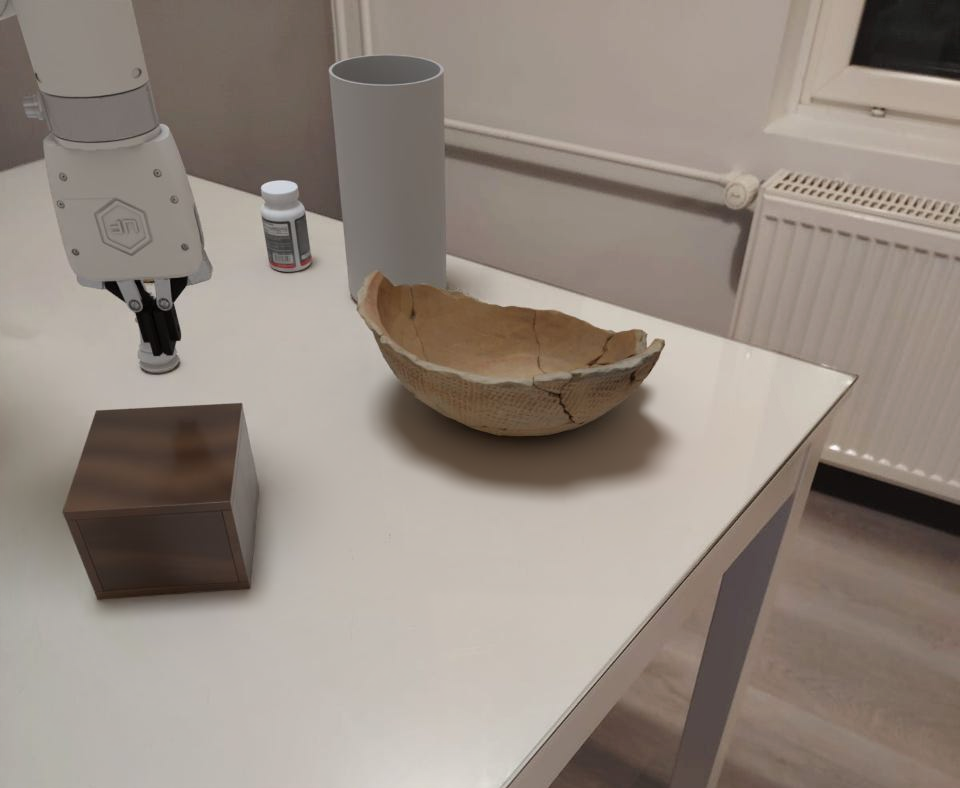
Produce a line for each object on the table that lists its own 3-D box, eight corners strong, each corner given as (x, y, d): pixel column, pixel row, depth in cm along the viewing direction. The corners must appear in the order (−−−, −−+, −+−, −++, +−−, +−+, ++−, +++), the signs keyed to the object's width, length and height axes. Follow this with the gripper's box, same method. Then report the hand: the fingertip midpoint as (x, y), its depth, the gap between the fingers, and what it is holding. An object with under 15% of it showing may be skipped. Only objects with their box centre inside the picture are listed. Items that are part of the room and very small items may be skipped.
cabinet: (123, 494, 85) (95, 410, 78) (258, 486, 86) (242, 402, 80) (96, 599, 75) (61, 512, 68) (250, 588, 76) (230, 501, 69)
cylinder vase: (337, 309, 112) (313, 81, 94) (364, 268, 121) (347, 51, 103) (435, 319, 111) (429, 88, 93) (455, 276, 119) (453, 58, 101)
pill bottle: (299, 252, 124) (289, 175, 117) (319, 266, 121) (310, 188, 114) (261, 262, 122) (249, 184, 115) (281, 276, 119) (269, 198, 111)
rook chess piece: (188, 362, 103) (172, 294, 97) (159, 378, 100) (140, 309, 94) (161, 351, 104) (143, 283, 98) (131, 367, 102) (111, 298, 96)
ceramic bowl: (638, 329, 105) (656, 207, 93) (657, 500, 90) (681, 381, 78) (384, 330, 106) (368, 209, 94) (361, 499, 91) (338, 381, 79)
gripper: (-19, 132, 62) (68, 375, 75) (202, 124, 63) (250, 365, 76) (8, 101, 67) (85, 333, 80) (212, 94, 68) (254, 324, 81)
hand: (165, 348), depth 78 cm, fingers closed
